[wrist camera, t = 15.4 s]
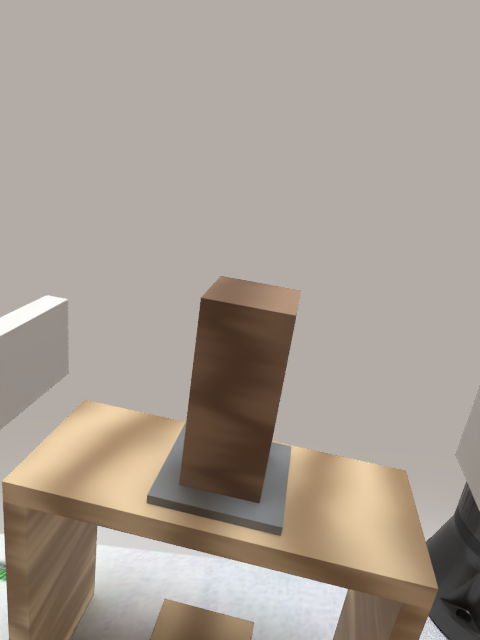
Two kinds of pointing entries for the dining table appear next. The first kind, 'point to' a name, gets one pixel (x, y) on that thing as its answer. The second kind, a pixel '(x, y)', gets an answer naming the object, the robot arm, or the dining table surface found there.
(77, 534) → the wooden side table
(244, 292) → the walnut block
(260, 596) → the dining table surface
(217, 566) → the dining table surface
